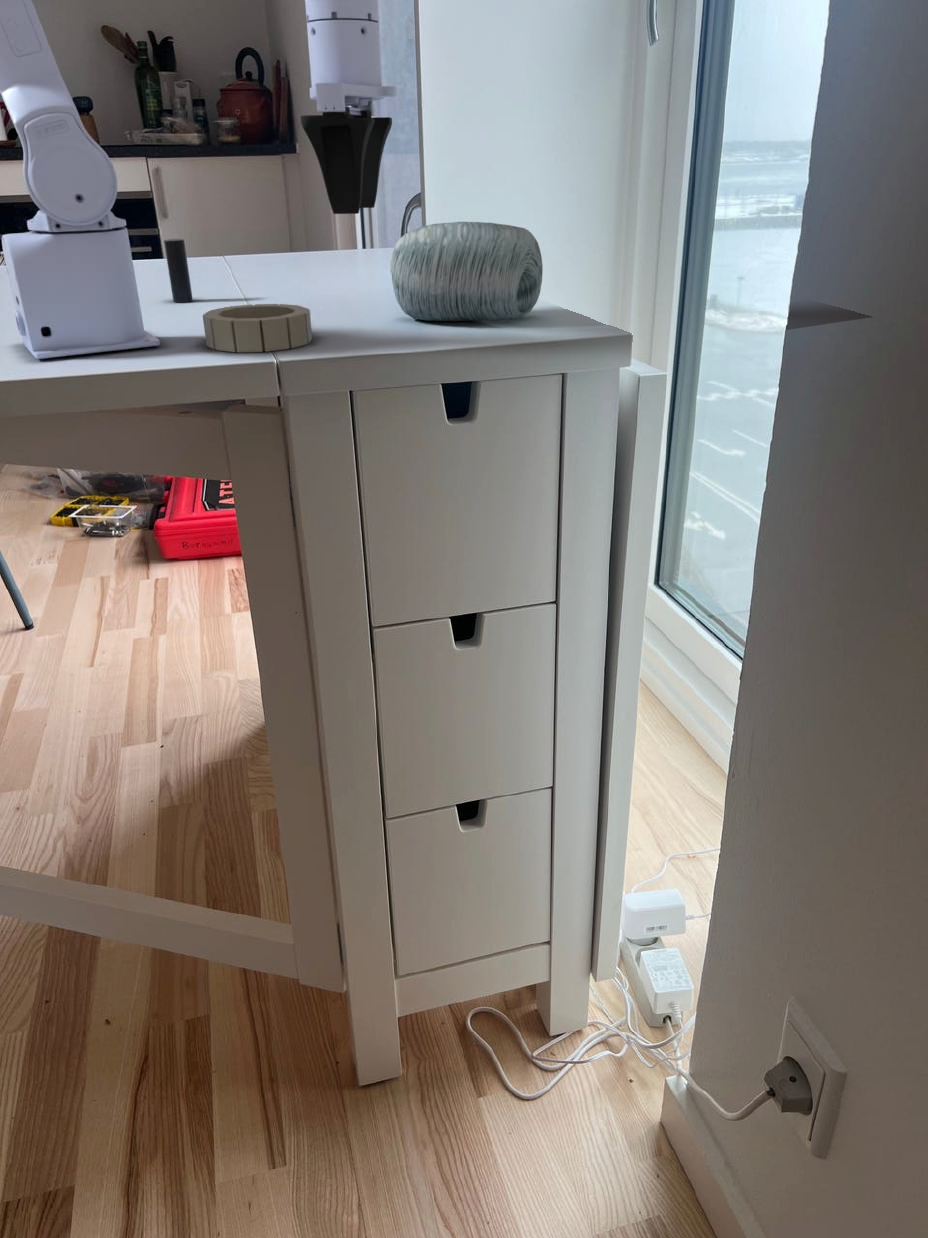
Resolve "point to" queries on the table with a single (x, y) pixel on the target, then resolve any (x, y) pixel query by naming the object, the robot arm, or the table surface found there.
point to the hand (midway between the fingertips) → (354, 210)
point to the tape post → (178, 270)
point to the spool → (466, 271)
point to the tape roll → (257, 327)
